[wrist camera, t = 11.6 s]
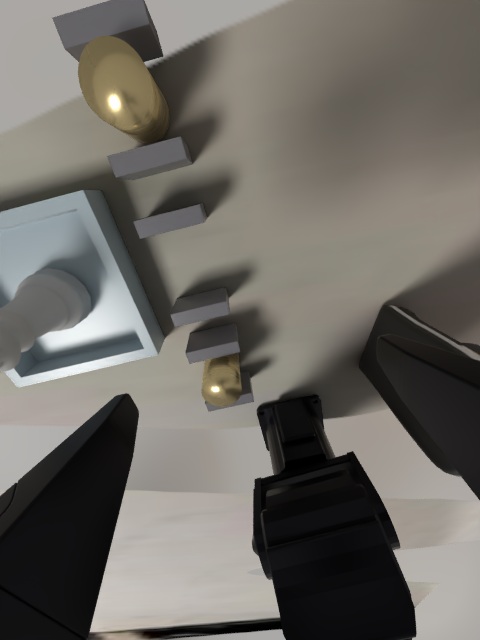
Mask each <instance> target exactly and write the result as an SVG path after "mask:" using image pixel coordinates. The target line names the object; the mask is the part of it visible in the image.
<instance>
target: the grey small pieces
mask: <svg viewBox="0 0 480 640" xmlns="http://www.w3.org/2000/svg"><path fill="white" fill-rule="evenodd" d="M53 21H54V23H55V26H56V28H57V31H58V33H59V36H60V38H61V41H62V43H63V46H64V48H65V50H67V51H68V52H69V53H70V54H71V55H72V56H73V57H74V58H75V59H76V60H78V62H79V60H80V56H81V54H82V52H83V50H84V48H85V47H86V45H87V44H88V43H89V42H90V41H92V40H93V39H95V38H97V37H100V36H113V37H116V38H119V39H121V40H123V41H125V42H126V43H128V44H129V45H130V46H131V47H132V48H133V49H134V50H135V51H136V52H137V53H138V55H139V56H140V57H141V59H142V61H143V62H145V61H149V60H152V59H156V58H159V57H163V53H162V49H161V46H160V42H159V38H158V35H157V31H156V29H155V26H154V24H153V21H152V19H151V16H150V14H149V11H148V9H147V6H146V4H145V1H144V0H110V1H107V2H103V3H100V4H97V5H93V6H90V7H87V8H83V9H80V10H77V11H73V12H70V13H67V14H64V15H60V16H57V17H54V18H53ZM107 157H108V159H109V162H110V164H111V167H112V169H113V172H114V174H115V177H116V178H122V179H129V180H135V179H139V178H143V177H147V176H150V175H154V174H158V173H162V172H165V171H169V170H173V169H177V168H180V167H184V166H188V165H192V160H191V157H190V153H189V149H188V146H187V144H186V143H185V142H184V140H183V139H182V138H181V136H180V137H176V138H173V139H169V140H165V141H161V142H158V143H154V144H150V145H147V146H143V147H139V148H136V149H132V150H128V151H125V152H121V153H117V154H114V155H110V156H107ZM206 219H207V216H206V212H205V208H204V205H203V203H200V204H196V205H192V206H188V207H185V208H181V209H177V210H173V211H169V212H165V213H161V214H157V215H154V216H150V217H146V218H143V219H140V220H137V221H133V222H134V225H135V227H136V230H137V232H138V235H139V237H140V239H142V238H146V237H149V236H153V235H157V234H161V233H165V232H169V231H173V230H177V229H181V228H185V227H189V226H193V225H197V224H200V223H204V222H205V221H206ZM228 314H230V309H229V297H228V294H227V290H226V287H223V288H219V289H215V290H211V291H207V292H203V293H198V294H194V295H190V296H186V297H182V298H178V299H177V300H176V302H175V305H174V307H173V309H172V312H171V314H170V316H171V318H172V321H173V323H174V326H175V327H177V326H182V325H186V324H190V323H194V322H199V321H203V320H207V319H211V318H215V317H220V316H224V315H228ZM239 352H240V345H239V336H238V331H237V327H236V323H233V324H228V325H224V326H220V327H216V328H211V329H207V330H203V331H199V332H194V333H190V336H189V340H188V344H187V349H186V356H187V358H188V361H189V363H190V364H191V363H195V362H200V361H204V360H208V359H213V358H217V357H221V356H226V355H230V354H234V353H239ZM240 377H241V387H242V394H241V396H240V398H239V399H238V400H237V401H236V402H235V403H233V404H231V405H229V406H223V407H219V406H214V405H211V404H209V403H208V402H207V401H206V400H205V404H206V406H207V409H208V411H214V410H218V409H223V408H227V407H232V406H236V405H241V404H245V403H250V402H254V398H253V392H252V385H251V379H250V375H249V371H244V372H240Z"/></svg>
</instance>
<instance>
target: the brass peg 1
mask: <svg viewBox="0 0 480 640" xmlns="http://www.w3.org/2000/svg"><path fill="white" fill-rule="evenodd" d="M78 75H79V83H80V87H81V90H82V93H83V95H84V97H85V99H86V101H87V103H88V105H89V106H90V107H91V109H92V110H93V111H94V112H95V113H96V114H97V115H98V116H99V117H100V118H101V119H103V120H104V121H105V122H107V123H109V124H110V125H112V126H114V127H115V128H117V129H118V130H120V131H122V132H123V133H125V134H127V135H128V136H130V137H131V138H133V139H135V140H136V141H138V142H141V143H145V144H151V143H155V142H157V141H159V140H160V139H162V138H163V136H164V135H165V134H166V132H167V130H168V127H169V122H170V113H169V108H168V104H167V102H166V99H165V98H164V96H163V94H162V92H161V91H160V89H159V87H158V86H157V84H156V82H155V81H154V79H153V77H152V76H151V74H150V72H149V71H148V69H147V67H146V66H145V64H144V62H143V61H142V59H141V57H140V56H139V55H138V53H137V52H136V51H135V50H134V49H133V48H132V47H131V46H130V45H129V44H128V43H126V42H125V41H123V40H121V39H119V38H116V37H113V36H100V37H97V38H95V39H93V40H92V41H90V42H89V43H88V44H87V45H86V47H85V48H84V50H83V52H82V54H81V56H80V60H79V67H78Z"/></svg>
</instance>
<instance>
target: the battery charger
mask: <svg viewBox="0 0 480 640" xmlns="http://www.w3.org/2000/svg"><path fill="white" fill-rule="evenodd" d="M387 334H393V335H396V336H400V337H403V338H406V339H409V340H413V341H416V342H419V343H423V344H426V345H429V346H433V347H436V348H439V349H443V350H446V351H449V352H452V353H456V354H459V355H462V356H466V357H469V358H472V359H476V360H479V361H480V346H478V345H476V344H471V343H460V342H458V341H457V340H455V339H453V338H451V337H449V336H448V335H446V334H444V333H442V332H441V331H439V330H437V329H435V328H433V327H431V326H429V325H428V324H426V323H424V322H423V321H421V320H420V319H419V318H418V317H417V316H416V315H415V314H414V313H413V312H411V311H409V310H407V309H404V308H401V307H396V306H392V305H389V306H384V307H382V308H381V310H380V313H379V315H378V317H377V320H376V322H375V325H374V327H373V330H372V332H371V334H370V337H369V340H368V342H367V345H366V348H365V350H364V353H363V356H362V359H361V361H360V364H359V368H360V370H361V371H362V372H363V373H364V374H365V376H366V377H367V378H368V379H369V381H370V382H371V383H372V384H373V386H374V387H375V388H376V390H377V391H378V392H379V394H380V395H381V397H382V398H383V400H384V401H385V402H386V404H387V405H388V407H389V408H390V409H391V411H392V412H393V413H394V415H395V416H396V418H397V419H398V420H399V421H400V423H401V424H402V425H403V427H404V428H405V429H406V431H407V432H408V433H409V434H410V436H411V437H412V438H413V439H414V441H415V442H416V443H417V445H418V446H419V447H420V448H421V449H422V451H423V452H424V453H425V454H426V456H427V457H428V458H429V459H430V460H431V461H432V462H433V463H434V464H435V465H436V466H437V467H438V468H440V469H441V470H442V471H444V472H446V473H448V474H452V475H455V476H457V477H461V475H460V474H459V473H458V472H457V470H456V469H455V468H454V466H453V465H452V464H451V463H450V461H449V460H448V459H447V457H446V456H445V455H444V454H443V452H442V451H441V450H440V448H439V447H438V446H437V445H436V443H435V442H434V441H433V439H432V438H431V437H430V436H429V434H428V433H427V432H426V430H425V429H424V428H423V427H422V425H421V424H420V423H419V421H418V420H417V419H416V418H415V416H414V415H413V414H412V412H411V411H410V410H409V409H408V407H407V406H406V405H405V403H404V402H403V401H402V399H401V398H400V396H399V395H398V393H397V392H396V390H395V388H394V387H393V385H392V383H391V382H390V380H389V378H388V377H387V375H386V374H385V372H384V370H383V369H382V367H381V365H380V364H379V362H378V360H377V338H378V337H379V336H382V335H387ZM461 478H462V477H461Z"/></svg>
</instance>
